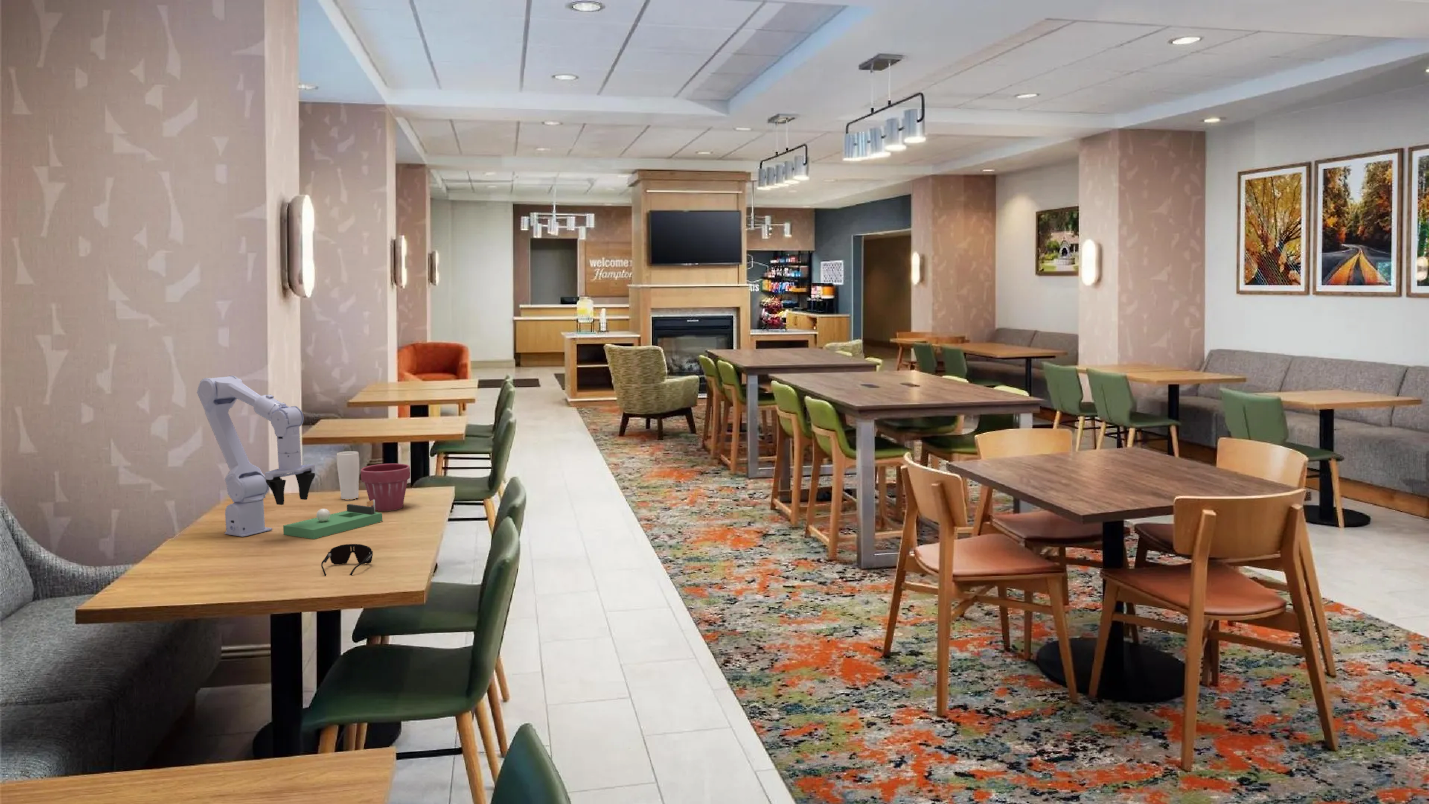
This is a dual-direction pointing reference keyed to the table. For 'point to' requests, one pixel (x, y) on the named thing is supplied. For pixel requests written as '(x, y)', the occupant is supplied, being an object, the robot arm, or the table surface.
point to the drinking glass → (348, 474)
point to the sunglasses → (344, 552)
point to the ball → (323, 515)
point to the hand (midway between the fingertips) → (292, 501)
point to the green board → (335, 522)
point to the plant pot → (386, 485)
